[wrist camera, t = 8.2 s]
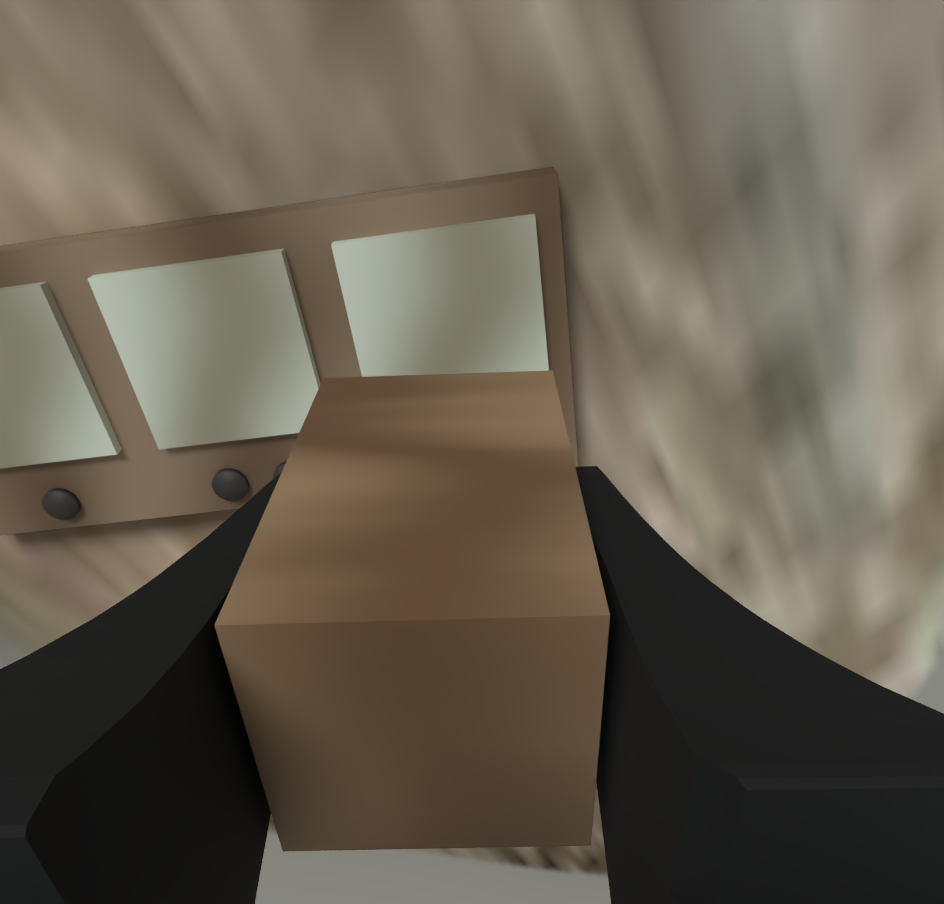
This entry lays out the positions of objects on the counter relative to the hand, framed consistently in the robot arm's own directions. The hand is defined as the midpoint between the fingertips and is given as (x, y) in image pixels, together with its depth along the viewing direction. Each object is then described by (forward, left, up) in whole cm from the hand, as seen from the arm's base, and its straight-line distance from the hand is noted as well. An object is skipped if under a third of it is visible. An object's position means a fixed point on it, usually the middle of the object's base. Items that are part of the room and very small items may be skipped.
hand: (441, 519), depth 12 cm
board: (-6, 0, -8) cm, 10 cm away
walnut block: (0, 0, -2) cm, 2 cm away
